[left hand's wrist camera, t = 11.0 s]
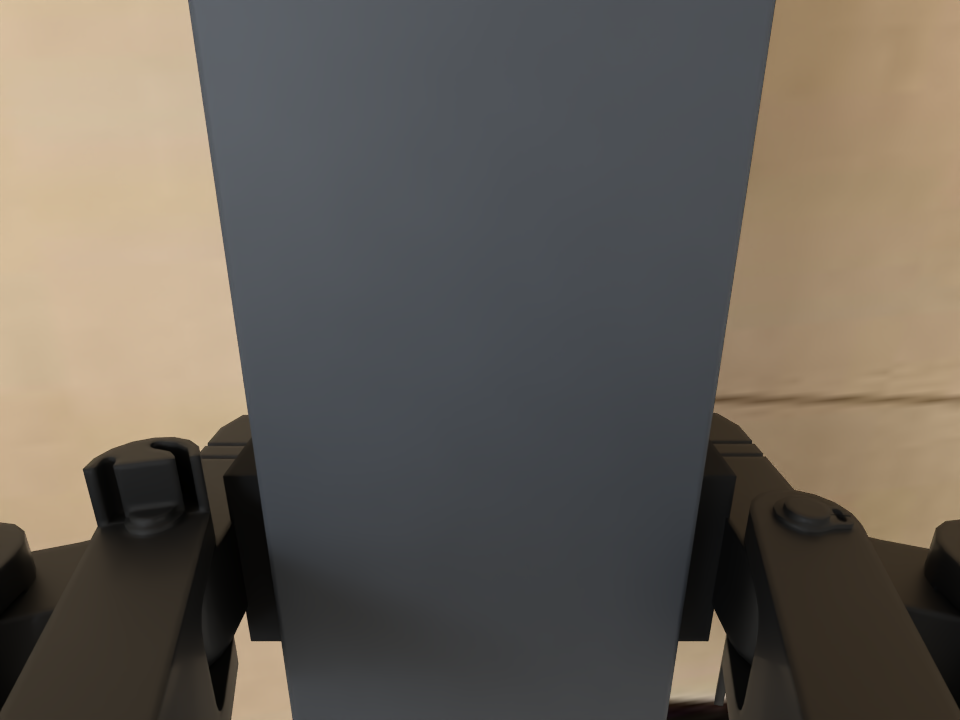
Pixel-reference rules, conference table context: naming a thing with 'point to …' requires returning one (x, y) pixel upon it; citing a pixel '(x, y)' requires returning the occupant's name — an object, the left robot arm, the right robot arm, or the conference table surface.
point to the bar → (480, 333)
